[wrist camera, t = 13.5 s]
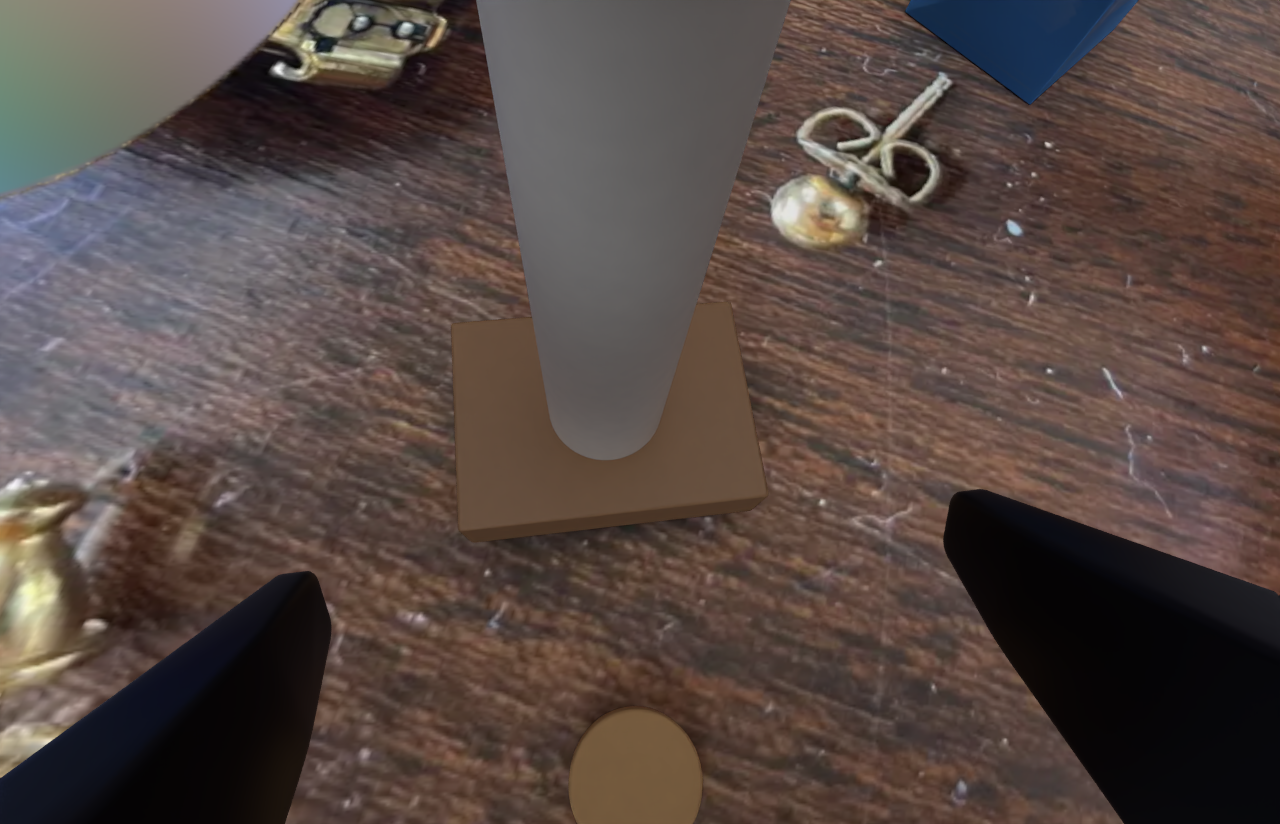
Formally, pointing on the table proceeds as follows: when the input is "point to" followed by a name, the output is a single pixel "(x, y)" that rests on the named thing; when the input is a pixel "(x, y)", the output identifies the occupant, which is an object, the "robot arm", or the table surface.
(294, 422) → the table surface
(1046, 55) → the perfume bottle
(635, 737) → the disc
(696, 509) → the stamp
